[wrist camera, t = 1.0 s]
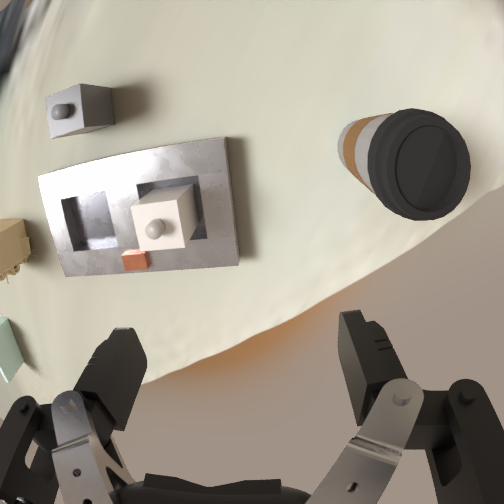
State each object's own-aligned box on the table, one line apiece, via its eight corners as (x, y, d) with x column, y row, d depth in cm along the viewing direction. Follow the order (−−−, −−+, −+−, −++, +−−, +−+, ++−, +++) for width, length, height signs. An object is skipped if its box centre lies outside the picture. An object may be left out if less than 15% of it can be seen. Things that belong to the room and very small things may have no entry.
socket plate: (49, 173, 32) (34, 178, 29) (225, 136, 31) (222, 138, 28) (74, 268, 38) (62, 279, 35) (239, 256, 36) (238, 268, 33)
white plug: (153, 189, 33) (125, 209, 25) (192, 184, 32) (173, 203, 25) (161, 227, 35) (136, 256, 27) (198, 223, 34) (182, 252, 27)
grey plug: (79, 98, 28) (38, 97, 21) (111, 87, 28) (73, 82, 21) (83, 133, 30) (43, 140, 23) (114, 124, 30) (77, 128, 23)
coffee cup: (405, 131, 30) (488, 145, 16) (379, 194, 33) (447, 243, 19) (342, 98, 29) (404, 85, 15) (316, 166, 32) (359, 200, 18)
